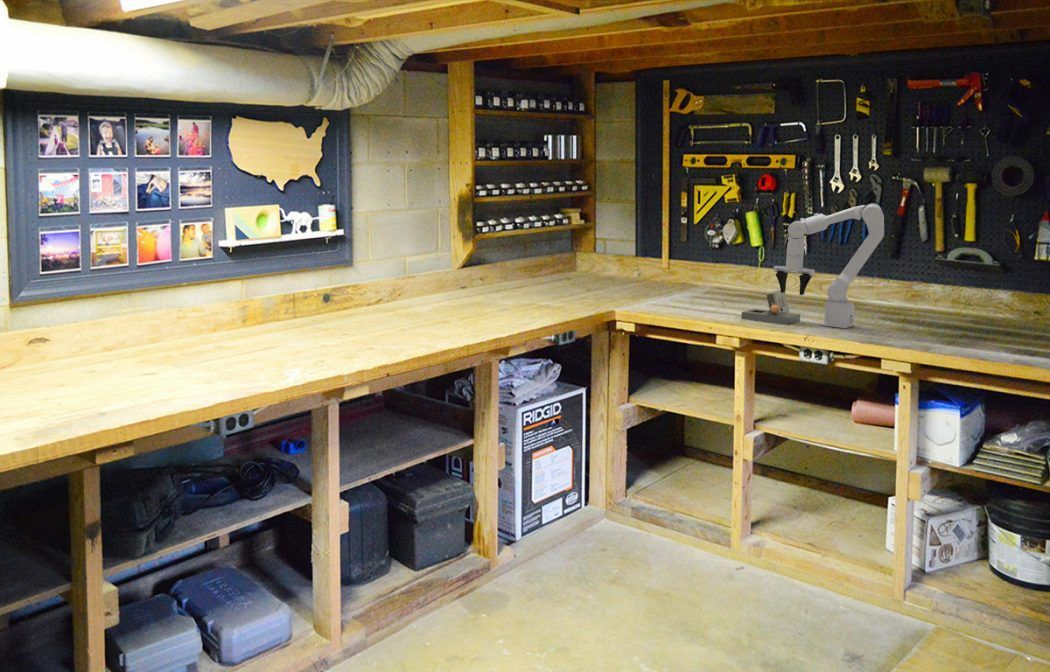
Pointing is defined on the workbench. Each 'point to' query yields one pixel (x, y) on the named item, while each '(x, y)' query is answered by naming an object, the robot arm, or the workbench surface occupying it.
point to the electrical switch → (778, 300)
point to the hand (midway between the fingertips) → (792, 293)
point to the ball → (775, 309)
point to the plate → (771, 316)
